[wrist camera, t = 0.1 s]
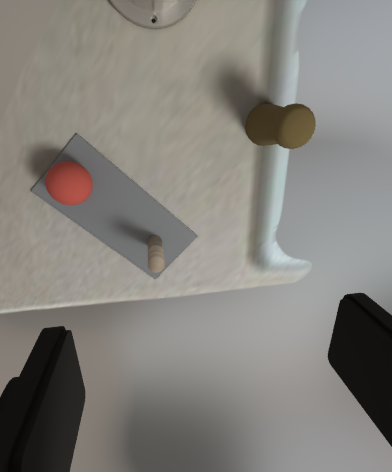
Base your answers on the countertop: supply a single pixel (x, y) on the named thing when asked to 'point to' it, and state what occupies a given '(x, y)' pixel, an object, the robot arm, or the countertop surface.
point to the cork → (280, 125)
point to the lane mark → (119, 210)
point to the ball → (68, 183)
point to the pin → (155, 254)
